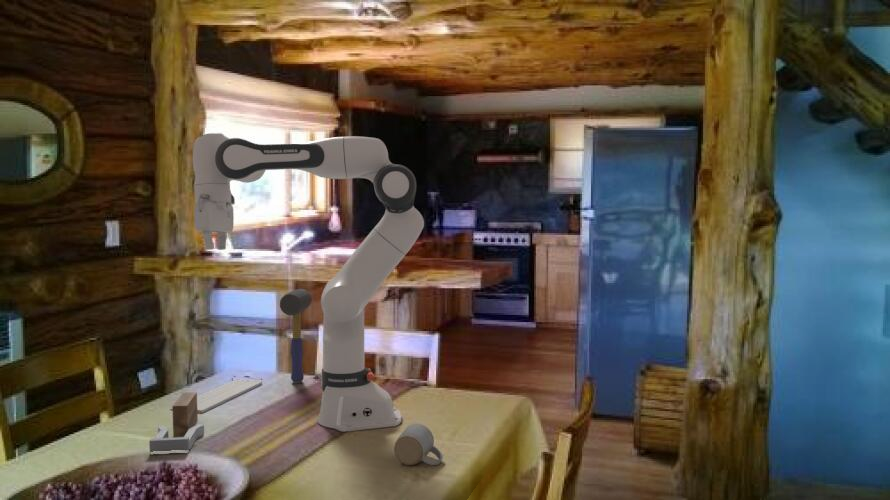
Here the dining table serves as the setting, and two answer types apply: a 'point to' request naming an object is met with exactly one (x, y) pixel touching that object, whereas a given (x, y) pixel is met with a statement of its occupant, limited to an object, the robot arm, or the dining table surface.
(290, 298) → the rubber mallet
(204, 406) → the baseboard molding
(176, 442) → the grey channel
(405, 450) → the ceramic mug
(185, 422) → the walnut plank
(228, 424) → the dining table surface
